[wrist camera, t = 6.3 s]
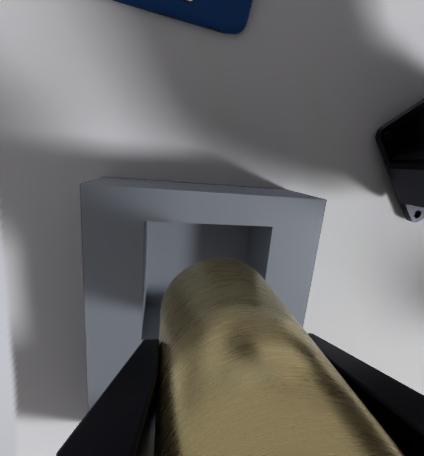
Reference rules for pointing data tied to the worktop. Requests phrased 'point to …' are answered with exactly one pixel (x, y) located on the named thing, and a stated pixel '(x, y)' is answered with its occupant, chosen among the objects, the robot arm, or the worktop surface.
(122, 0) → the cell phone
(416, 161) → the robot arm
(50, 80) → the worktop surface
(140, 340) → the socket block
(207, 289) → the peg
